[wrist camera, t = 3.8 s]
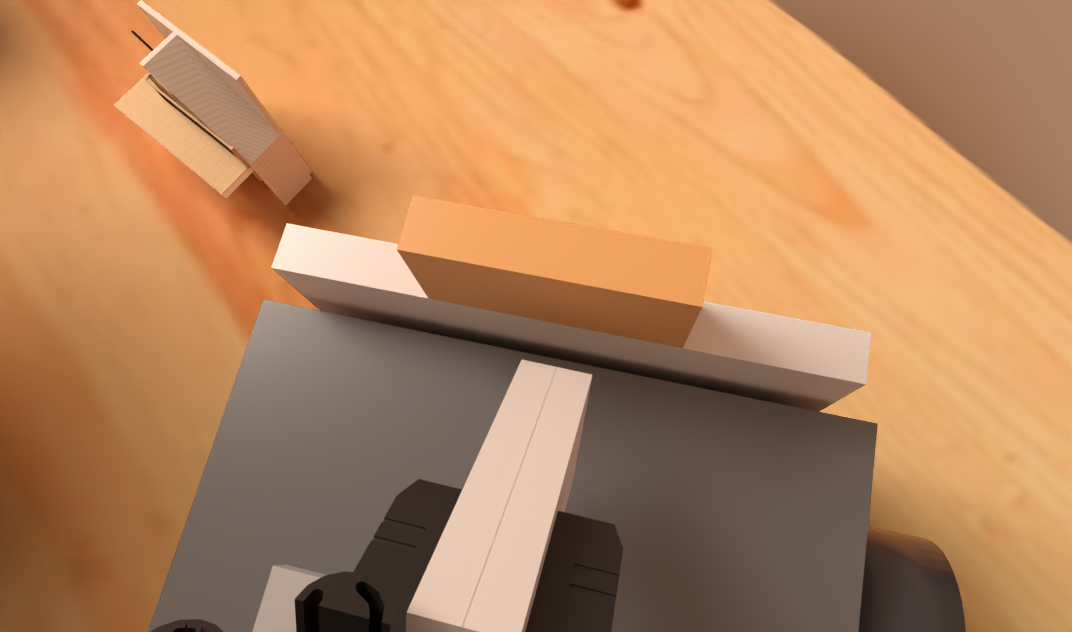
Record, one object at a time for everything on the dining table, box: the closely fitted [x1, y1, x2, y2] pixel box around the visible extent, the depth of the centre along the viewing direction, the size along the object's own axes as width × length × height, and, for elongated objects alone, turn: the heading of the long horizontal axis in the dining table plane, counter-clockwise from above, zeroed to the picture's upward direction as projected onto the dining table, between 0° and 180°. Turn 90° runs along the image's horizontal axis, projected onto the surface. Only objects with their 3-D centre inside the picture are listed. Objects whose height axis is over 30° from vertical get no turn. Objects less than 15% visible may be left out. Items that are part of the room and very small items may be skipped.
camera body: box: [148, 300, 966, 632], centre depth 21 cm, size 10×19×11 cm, turn 77°
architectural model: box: [114, 0, 312, 205], centre depth 30 cm, size 3×7×7 cm, turn 51°
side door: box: [271, 195, 871, 412], centre depth 21 cm, size 1×14×15 cm, turn 78°
